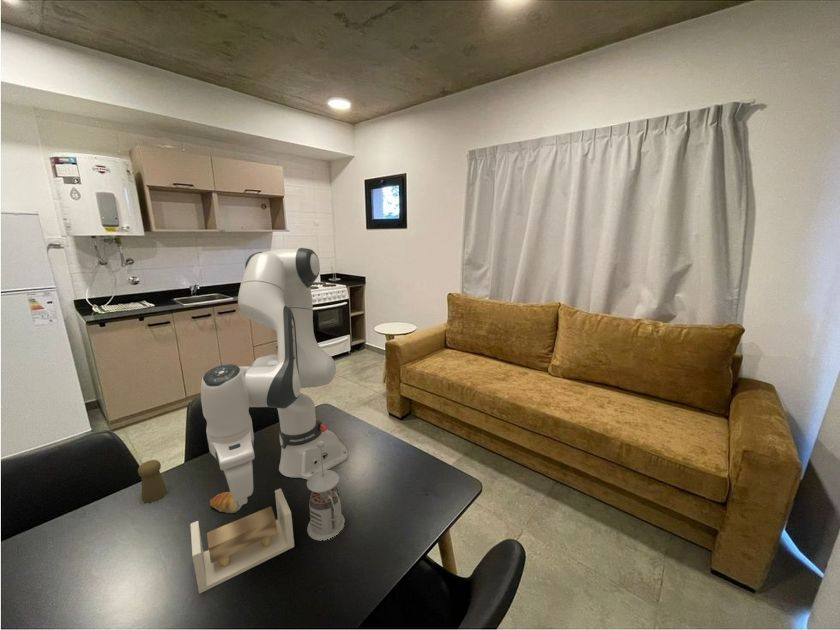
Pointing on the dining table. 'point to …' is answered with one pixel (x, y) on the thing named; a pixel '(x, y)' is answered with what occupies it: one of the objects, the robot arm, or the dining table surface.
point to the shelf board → (241, 533)
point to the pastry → (225, 503)
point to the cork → (152, 481)
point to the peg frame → (242, 550)
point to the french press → (324, 504)
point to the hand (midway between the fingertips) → (239, 489)
